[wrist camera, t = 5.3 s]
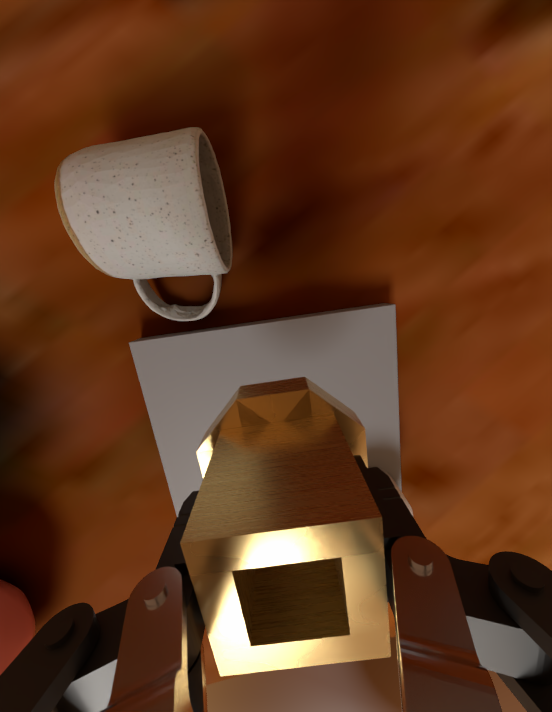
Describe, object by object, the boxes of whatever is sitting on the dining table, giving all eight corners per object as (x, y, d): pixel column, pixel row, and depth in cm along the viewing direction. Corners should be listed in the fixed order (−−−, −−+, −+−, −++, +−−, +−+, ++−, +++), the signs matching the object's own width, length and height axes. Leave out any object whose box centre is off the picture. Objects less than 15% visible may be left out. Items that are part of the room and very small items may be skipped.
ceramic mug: (108, 178, 20) (9, 115, 12) (221, 163, 19) (192, 89, 12) (145, 324, 22) (84, 346, 15) (244, 311, 22) (232, 326, 15)
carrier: (384, 303, 22) (420, 307, 17) (393, 523, 27) (423, 580, 22) (141, 338, 22) (100, 353, 17) (197, 549, 28) (179, 612, 22)
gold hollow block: (351, 369, 12) (436, 463, 6) (362, 500, 14) (436, 681, 8) (195, 392, 12) (112, 507, 6) (225, 518, 14) (187, 708, 8)
